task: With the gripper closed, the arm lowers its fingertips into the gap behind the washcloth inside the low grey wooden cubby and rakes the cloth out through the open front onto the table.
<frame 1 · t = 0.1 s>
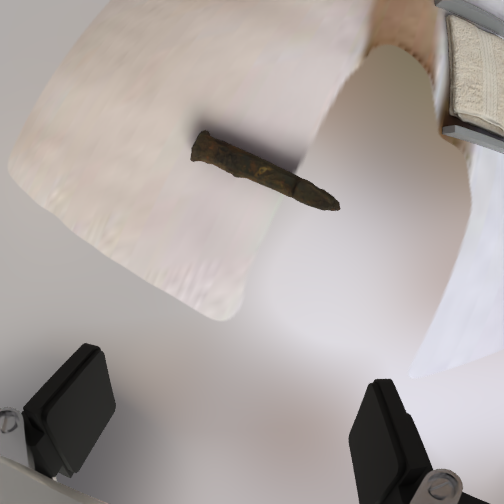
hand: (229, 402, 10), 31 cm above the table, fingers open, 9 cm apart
washcloth: (476, 76, 31), on the table
cubby: (501, 86, 30), on the table
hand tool: (270, 170, 38), on the table
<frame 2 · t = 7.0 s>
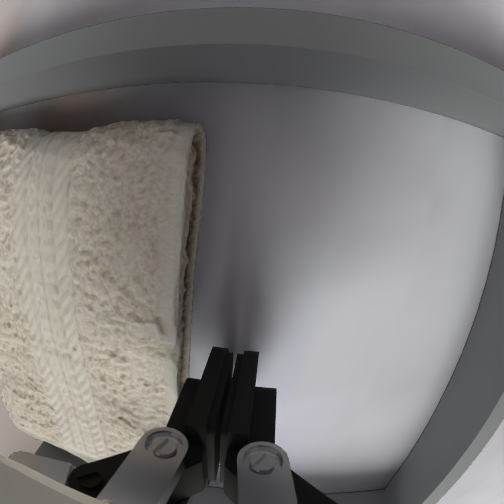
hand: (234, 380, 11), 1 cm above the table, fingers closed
washcloth: (78, 324, 13), on the table, touching gripper
cubby: (211, 361, 12), on the table
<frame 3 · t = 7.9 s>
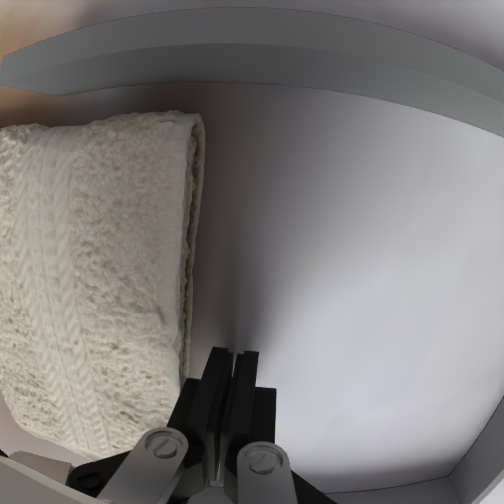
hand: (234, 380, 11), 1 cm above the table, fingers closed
washcloth: (79, 320, 13), on the table, touching gripper
cubby: (343, 372, 11), on the table
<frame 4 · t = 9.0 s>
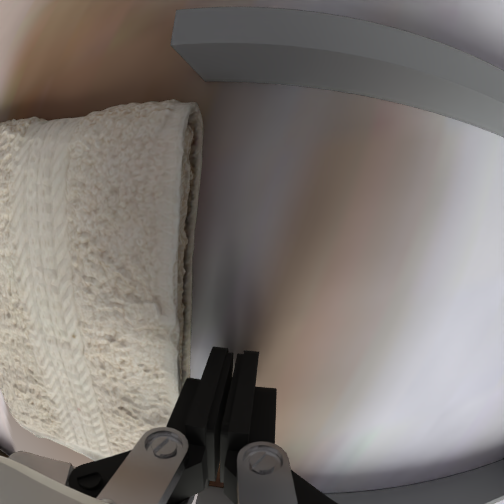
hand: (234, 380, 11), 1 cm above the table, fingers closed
washcloth: (78, 315, 13), on the table
cubby: (462, 368, 11), on the table
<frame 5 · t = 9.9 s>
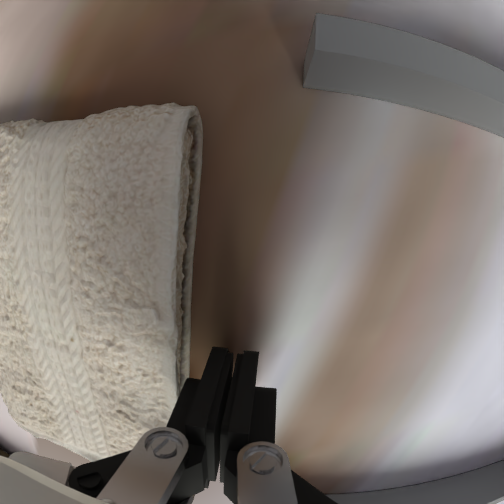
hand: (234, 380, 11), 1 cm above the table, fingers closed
washcloth: (77, 318, 13), on the table, touching gripper
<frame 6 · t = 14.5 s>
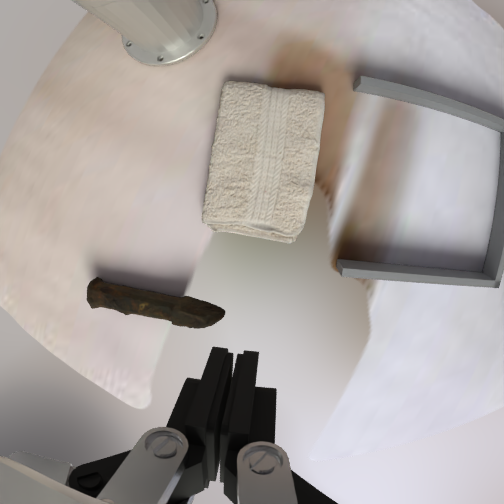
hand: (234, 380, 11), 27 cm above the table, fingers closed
washcloth: (263, 160, 35), on the table
cubby: (436, 189, 34), on the table
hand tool: (157, 294, 41), on the table
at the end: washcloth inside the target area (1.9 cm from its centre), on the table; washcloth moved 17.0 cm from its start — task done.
